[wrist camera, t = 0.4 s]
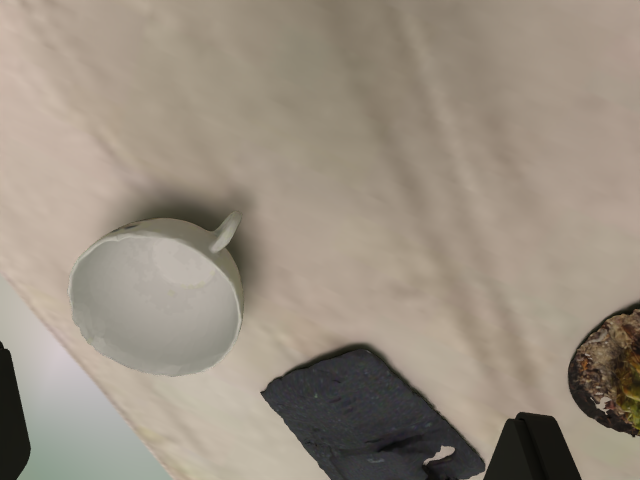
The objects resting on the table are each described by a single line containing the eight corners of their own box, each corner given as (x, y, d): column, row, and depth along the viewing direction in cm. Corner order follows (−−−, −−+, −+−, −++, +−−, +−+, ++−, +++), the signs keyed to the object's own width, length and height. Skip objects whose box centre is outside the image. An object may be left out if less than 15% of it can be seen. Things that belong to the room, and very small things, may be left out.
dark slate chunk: (385, 318, 46) (388, 353, 42) (493, 469, 53) (504, 512, 49) (248, 383, 50) (238, 420, 46) (365, 513, 58) (365, 556, 54)
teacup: (198, 341, 48) (169, 406, 41) (85, 255, 44) (32, 309, 37) (310, 243, 42) (300, 297, 35) (191, 135, 39) (153, 172, 32)
